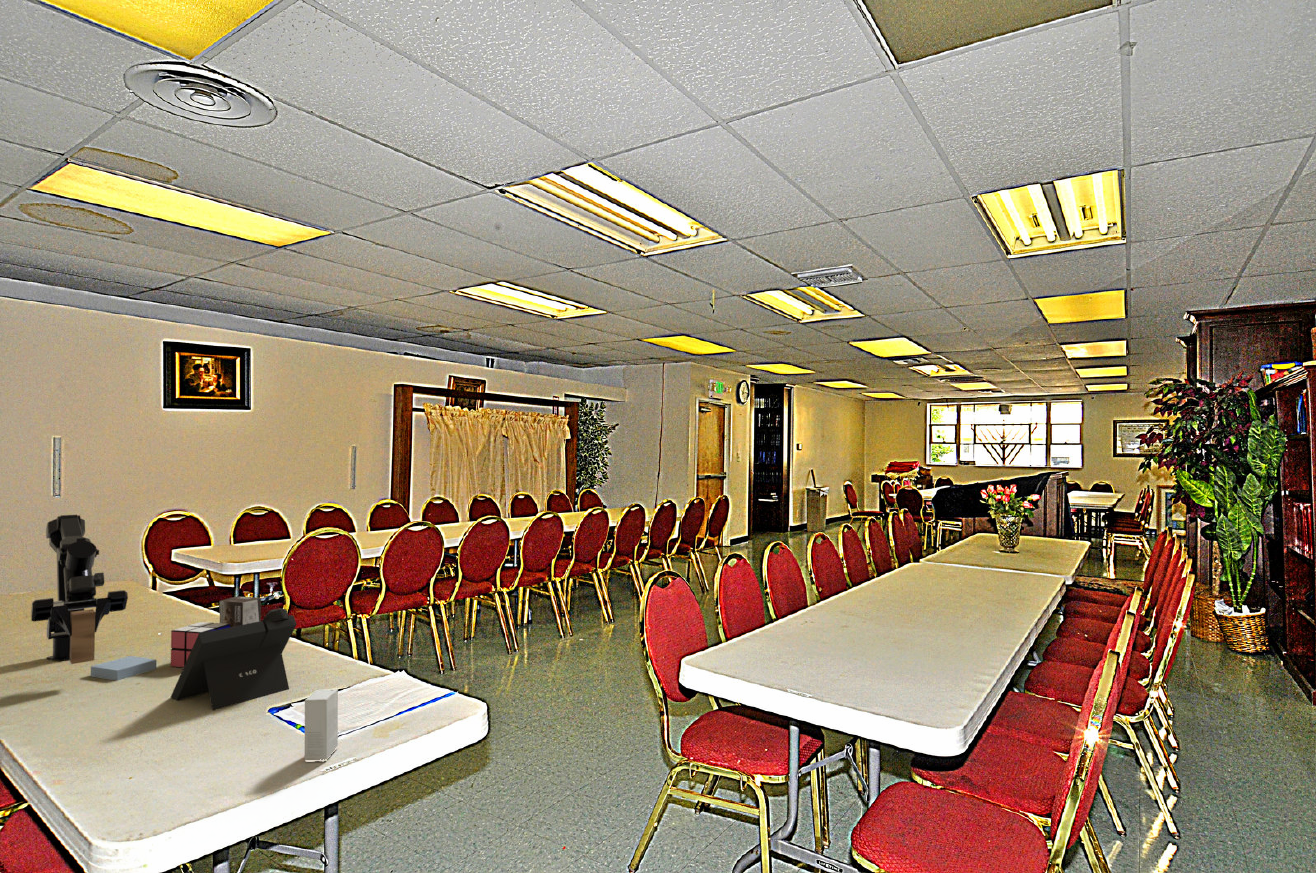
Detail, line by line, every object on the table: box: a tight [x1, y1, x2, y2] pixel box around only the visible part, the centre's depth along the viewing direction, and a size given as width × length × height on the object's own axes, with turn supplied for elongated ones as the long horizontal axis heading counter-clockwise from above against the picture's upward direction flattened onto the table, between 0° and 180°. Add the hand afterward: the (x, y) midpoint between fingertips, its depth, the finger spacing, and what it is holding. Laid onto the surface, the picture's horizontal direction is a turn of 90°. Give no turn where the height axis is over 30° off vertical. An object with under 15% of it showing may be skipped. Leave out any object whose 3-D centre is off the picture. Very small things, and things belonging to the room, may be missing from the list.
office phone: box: [170, 607, 297, 711], centre depth 179 cm, size 29×28×20 cm
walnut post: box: [69, 608, 96, 665], centre depth 176 cm, size 4×4×12 cm
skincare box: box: [304, 688, 339, 761], centre depth 137 cm, size 6×4×12 cm
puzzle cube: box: [170, 621, 230, 669], centre depth 196 cm, size 10×10×10 cm
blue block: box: [90, 655, 157, 681], centre depth 187 cm, size 10×10×3 cm
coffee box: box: [219, 596, 262, 627], centre depth 203 cm, size 9×6×16 cm
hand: (83, 633), depth 175 cm, fingers closed on walnut post, 4 cm apart
